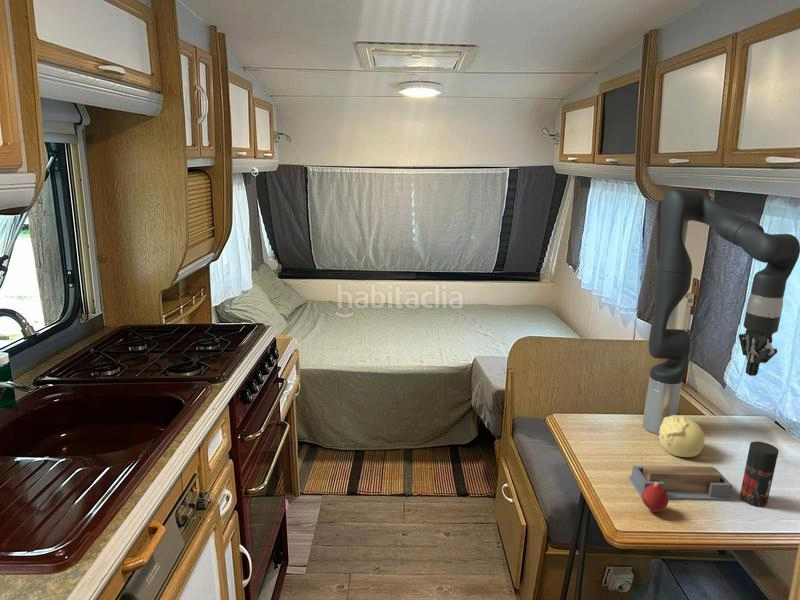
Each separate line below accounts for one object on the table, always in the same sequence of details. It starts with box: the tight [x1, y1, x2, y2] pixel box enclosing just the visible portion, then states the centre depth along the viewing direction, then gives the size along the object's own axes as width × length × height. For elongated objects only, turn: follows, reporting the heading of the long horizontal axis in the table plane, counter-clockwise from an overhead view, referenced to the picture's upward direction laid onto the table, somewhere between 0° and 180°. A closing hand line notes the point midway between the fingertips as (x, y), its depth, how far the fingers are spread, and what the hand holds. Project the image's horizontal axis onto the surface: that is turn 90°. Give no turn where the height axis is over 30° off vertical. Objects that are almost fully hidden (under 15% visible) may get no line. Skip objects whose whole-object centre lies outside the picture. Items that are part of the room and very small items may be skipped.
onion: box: [641, 482, 669, 513], centre depth 133 cm, size 6×6×8 cm
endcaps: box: [627, 465, 734, 502], centre depth 143 cm, size 9×23×4 cm, turn 89°
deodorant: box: [739, 440, 779, 508], centre depth 137 cm, size 6×6×15 cm
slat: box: [643, 464, 721, 492], centre depth 143 cm, size 4×18×5 cm, turn 89°
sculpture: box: [658, 414, 706, 458], centre depth 160 cm, size 11×12×11 cm
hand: (751, 374), depth 144 cm, fingers closed
